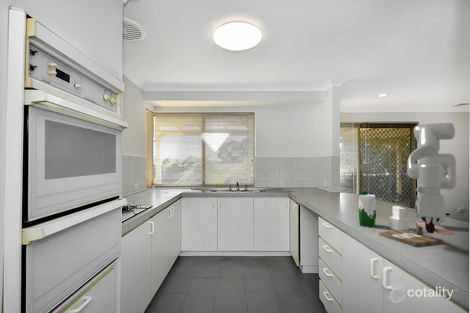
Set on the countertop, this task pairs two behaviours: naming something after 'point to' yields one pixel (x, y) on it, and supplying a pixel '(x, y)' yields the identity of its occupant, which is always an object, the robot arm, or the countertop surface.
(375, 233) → the countertop surface
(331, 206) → the countertop surface
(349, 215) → the countertop surface
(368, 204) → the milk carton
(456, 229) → the countertop surface
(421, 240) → the label board
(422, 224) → the swing arm
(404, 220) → the base with upright slab
